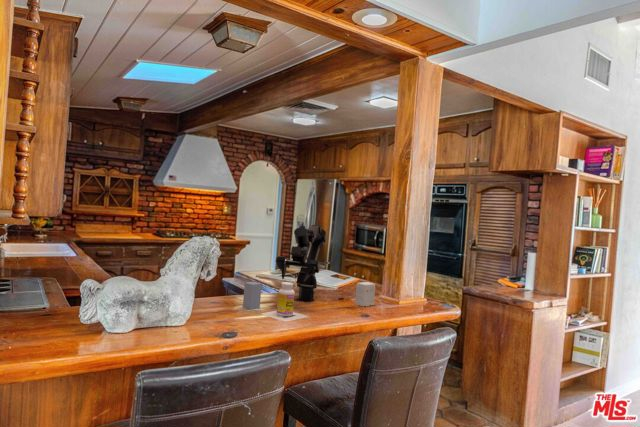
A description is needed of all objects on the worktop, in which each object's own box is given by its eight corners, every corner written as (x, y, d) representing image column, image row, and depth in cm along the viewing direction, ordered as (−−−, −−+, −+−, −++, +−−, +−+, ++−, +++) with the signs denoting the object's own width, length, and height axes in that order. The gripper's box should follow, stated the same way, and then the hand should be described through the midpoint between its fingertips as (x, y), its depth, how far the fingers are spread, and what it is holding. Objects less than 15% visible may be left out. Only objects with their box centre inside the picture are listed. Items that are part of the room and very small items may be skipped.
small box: (365, 302, 211) (366, 281, 211) (374, 305, 207) (375, 283, 207) (354, 304, 205) (356, 282, 205) (363, 307, 201) (365, 284, 201)
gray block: (251, 307, 183) (253, 281, 183) (259, 309, 180) (261, 283, 180) (242, 308, 179) (244, 282, 179) (250, 311, 176) (252, 284, 176)
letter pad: (259, 315, 171) (260, 313, 171) (283, 310, 182) (284, 308, 182) (285, 323, 162) (285, 321, 162) (309, 317, 173) (309, 316, 173)
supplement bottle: (284, 318, 168) (287, 285, 168) (272, 314, 172) (275, 282, 172) (296, 315, 173) (298, 284, 173) (284, 311, 177) (287, 281, 177)
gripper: (278, 237, 187) (268, 265, 176) (320, 241, 183) (312, 270, 172) (282, 253, 195) (273, 281, 184) (322, 258, 191) (315, 287, 180)
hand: (292, 280), depth 180 cm, fingers open, 9 cm apart
